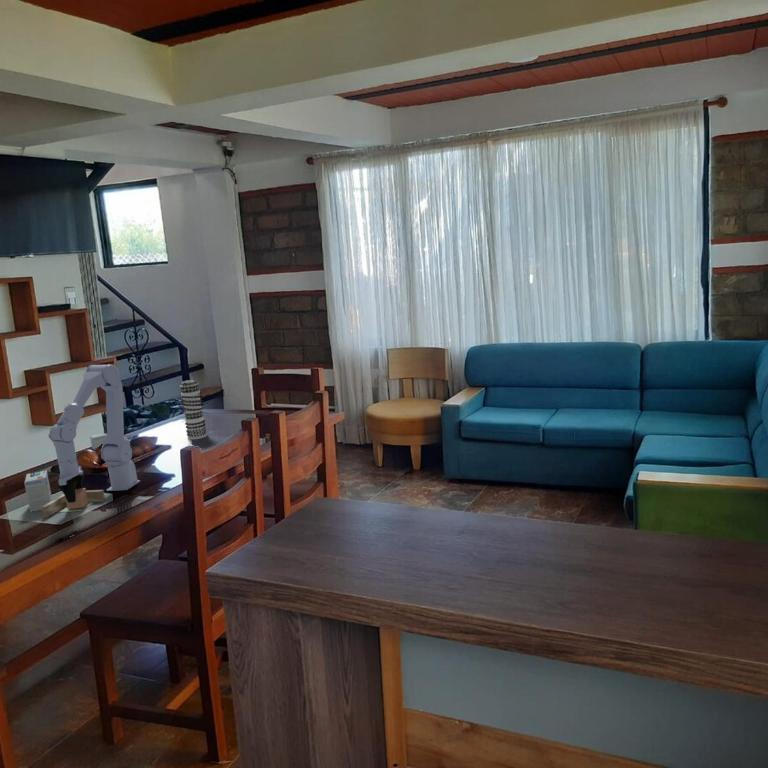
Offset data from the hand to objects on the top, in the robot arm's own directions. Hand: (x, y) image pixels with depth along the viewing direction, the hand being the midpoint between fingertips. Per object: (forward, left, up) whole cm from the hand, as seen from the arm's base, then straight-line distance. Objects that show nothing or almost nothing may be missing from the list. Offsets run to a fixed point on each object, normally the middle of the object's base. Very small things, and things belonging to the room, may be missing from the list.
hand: (74, 499), depth 246 cm
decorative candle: (-85, +5, -3) cm, 85 cm away
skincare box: (-49, -19, -3) cm, 53 cm away
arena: (0, 0, -3) cm, 3 cm away
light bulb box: (-3, -15, -3) cm, 16 cm away
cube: (0, +1, -2) cm, 2 cm away
